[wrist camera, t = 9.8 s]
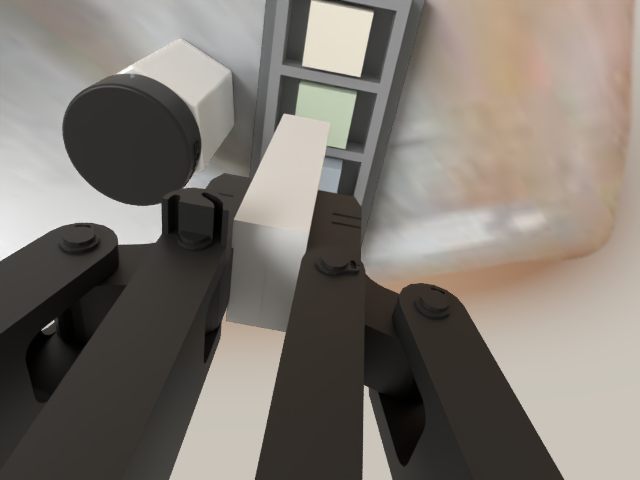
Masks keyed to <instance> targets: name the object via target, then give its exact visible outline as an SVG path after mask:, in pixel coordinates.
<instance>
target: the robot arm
mask: <svg viewBox="0 0 640 480" xmlns="http://www.w3.org/2000/svg"><path fill="white" fill-rule="evenodd" d="M330 125H331V123H330V122H325V121H320V120H315V119H310V118H304V117H299V116H294V115H289V114H283V116H282V118H281V121H280V123H279V125H278V127H277V129H276V131H275V133H274V135H273V138H272V140H271V142H270V144H269V146H268V148H267V150H266V152H265V154H264V157H263V159H262V161H261V163H260V165H259V167H258V169H257V171H256V174H255V176H254V178H253V179H251V178H246V177H241V176H235V175H230V174H225V173H224V174H222V175H220V176H218V177H217V178H215V179H213V180H211V181H210V183H209V185H208V186H207V188H206V189H199V188H185V189H178V190H175V191H172V192H169V193H167V194H166V195H165V196H164V197H162V198H161V201H162V235H161V236H160V238H159V239H158V241H157V242H156V243H151V244H137V245H118V238H117V236H116V234H115V233H114V231H113V230H111V229H109V228H107V227H105V226H103V225H98V224H94V223H75V224H70V225H65V226H61V227H59V228H57V229H54V230H52V231H50V232H48V233H47V234H45V235H43V236H42V237H40V238H38V239H37V240H35V241H33V242H32V243H30V244H28V245H27V246H25V247H23V248H22V249H20V250H18V251H17V252H15V253H13V254H12V255H10V256H8V257H7V258H5V259H3V260H2V261H0V480H169V478H170V475H171V473H172V470H173V467H174V464H175V461H176V459H177V456H178V453H179V451H180V448H181V445H182V442H183V440H184V437H185V434H186V431H187V429H188V425H189V423H190V420H191V417H192V415H193V412H194V409H195V406H196V404H197V401H198V398H199V395H200V393H201V390H202V387H203V384H204V382H205V379H206V376H207V373H208V371H209V368H210V365H211V362H212V360H213V357H214V354H215V351H216V348H217V346H218V343H219V340H220V336H221V323H222V322H221V321H222V319H223V316H224V313H225V311H226V308H227V315H226V321H229V322H234V323H240V324H245V325H251V326H257V327H261V328H267V329H272V330H278V331H283V332H286V335H285V340H284V344H283V349H282V354H281V358H280V363H279V368H278V373H277V377H276V382H275V387H274V391H273V396H272V401H271V406H270V410H269V415H268V420H267V425H266V430H265V434H264V439H263V443H262V449H261V453H260V458H259V462H258V467H257V472H256V477H255V480H362V468H363V466H362V464H363V396H364V385H365V386H368V387H369V396H370V400H371V403H372V407H373V411H374V414H375V418H376V421H377V425H378V428H379V432H380V436H381V439H382V443H383V446H384V450H385V454H386V457H387V461H388V464H389V468H390V472H391V475H392V479H393V480H564V478H563V477H562V475H561V473H560V471H559V470H558V468H557V466H556V465H555V463H554V461H553V459H552V458H551V456H550V454H549V453H548V451H547V449H546V447H545V446H544V444H543V442H542V440H541V439H540V437H539V435H538V433H537V432H536V430H535V428H534V426H533V425H532V423H531V421H530V419H529V418H528V416H527V414H526V413H525V411H524V409H523V407H522V406H521V404H520V402H519V400H518V399H517V397H516V395H515V394H514V392H513V390H512V388H511V387H510V385H509V383H508V381H507V380H506V378H505V376H504V374H503V373H502V371H501V370H500V368H499V366H498V364H497V362H496V361H495V359H494V357H493V355H492V354H491V352H490V350H489V348H488V347H487V345H486V343H485V342H484V340H483V338H482V336H481V335H480V333H479V332H478V330H477V328H476V326H475V324H474V322H473V321H472V319H471V318H470V316H469V314H468V312H467V310H466V309H465V307H464V305H463V304H462V303H461V302H460V301H459V299H458V298H457V297H455V296H454V295H453V294H451V293H450V292H448V291H447V290H445V289H442V288H440V287H437V286H435V285H429V284H424V283H419V284H410V285H408V286H407V287H405V288H403V289H402V291H401V293H400V294H398V293H396V292H393V291H391V290H389V289H386V288H384V287H382V286H380V285H378V284H377V283H375V282H374V281H373V280H371V279H370V278H369V277H368V276H367V275H366V274H365V268H364V265H363V263H362V262H361V223H362V220H361V219H362V207H361V205H360V204H359V203H358V201H357V200H356V198H355V197H354V196H348V195H343V194H338V193H333V192H327V191H322V190H319V185H320V179H321V174H322V169H323V163H324V158H325V152H326V147H327V142H328V136H329V131H330ZM53 320H54V321H55V322H54V323H53V324H52V325H51V326H49V327H48V328H46V329H44V330H42V329H43V328H44V327H45V326H46V325H48V324H49V323H50V322H52V321H53ZM41 330H42V331H41Z"/></svg>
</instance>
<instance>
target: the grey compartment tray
mask: <svg viewBox="0 0 640 480" xmlns="http://www.w3.org/2000/svg"><path fill="white" fill-rule="evenodd" d="M330 1H335V2H340V3H345V4H350V5H355V6H360V7H366V8H371V9H373V10H374V14H373V19H372V24H371V28H370V33H369V38H368V43H367V47H366V52H365V57H364V62H363V67H362V71H361V76H360V77H357V76H352V75H346V74H341V73H336V72H331V71H326V70H321V69H315V68H310V67H305V66H302V63H303V55H304V48H305V41H306V34H307V27H308V20H309V13H310V6H311V0H266V6H265V16H264V27H263V38H262V49H261V59H260V70H259V81H258V92H257V103H256V113H255V124H254V135H253V146H252V156H251V167H250V178H251V179H253V178H254V176H255V174H256V171H257V169H258V167H259V165H260V163H261V161H262V159H263V157H264V154H265V152H266V150H267V148H268V146H269V144H270V142H271V140H272V138H273V135H274V133H275V131H276V129H277V127H278V125H279V123H280V121H281V118H282V116H283V114H289V115H294V116H295V112H296V105H297V98H298V91H299V84H300V82H301V80H302V79H305V80H311V81H316V82H321V83H326V84H331V85H336V86H341V87H347V88H352V89H357V95H356V100H355V105H354V110H353V115H352V119H351V124H350V129H349V134H348V139H347V143H346V148H345V149H343V148H337V147H332V146H327V147H326V152H325V156H326V157H331V158H336V159H342V160H343V161H342V170H341V175H340V179H339V184H338V189H337V193H338V194H343V195H348V196H354V197H355V198H356V200H357V201H358V203H359V204H360V205H361V207H362V219H361V220H362V223H361V245H362V241H363V237H364V233H365V229H366V226H367V222H368V218H369V214H370V210H371V206H372V202H373V199H374V195H375V191H376V187H377V183H378V179H379V175H380V172H381V168H382V164H383V160H384V156H385V152H386V149H387V145H388V141H389V137H390V133H391V129H392V125H393V122H394V118H395V114H396V110H397V106H398V102H399V98H400V95H401V91H402V87H403V83H404V79H405V75H406V72H407V68H408V64H409V60H410V56H411V52H412V48H413V45H414V41H415V37H416V33H417V29H418V25H419V21H420V18H421V14H422V10H423V6H424V2H425V0H330Z"/></svg>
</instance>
